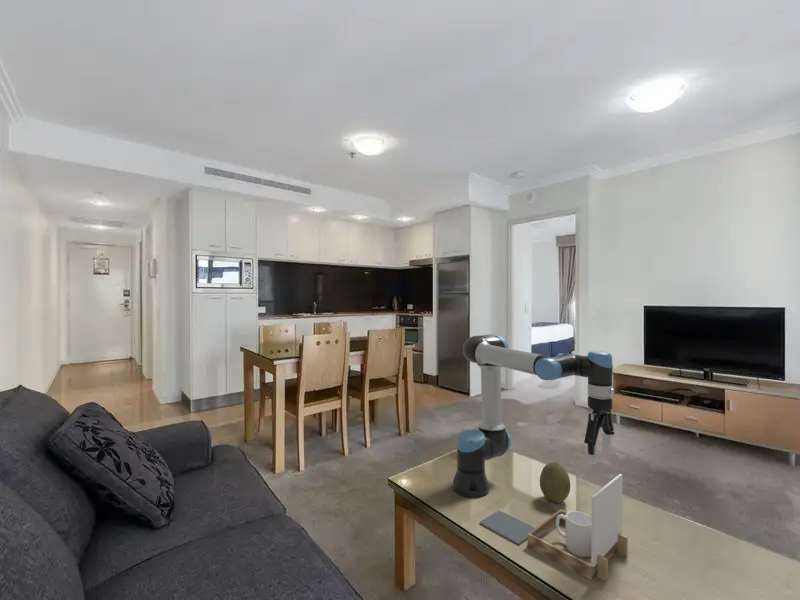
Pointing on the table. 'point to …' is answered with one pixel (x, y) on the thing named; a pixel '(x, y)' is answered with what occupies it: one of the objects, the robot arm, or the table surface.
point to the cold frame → (558, 554)
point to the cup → (577, 532)
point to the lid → (607, 525)
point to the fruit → (555, 482)
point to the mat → (507, 527)
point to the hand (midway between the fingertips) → (599, 458)
